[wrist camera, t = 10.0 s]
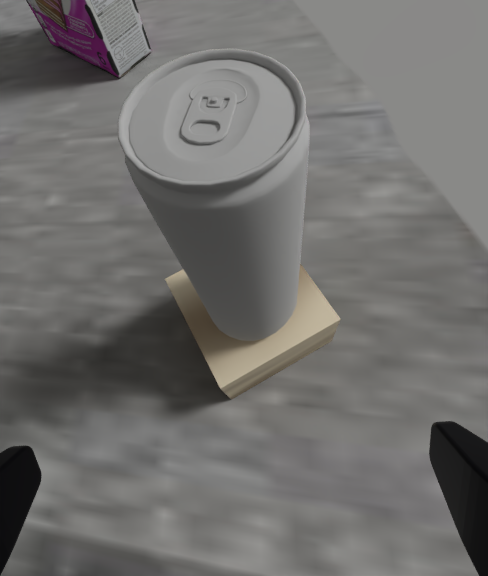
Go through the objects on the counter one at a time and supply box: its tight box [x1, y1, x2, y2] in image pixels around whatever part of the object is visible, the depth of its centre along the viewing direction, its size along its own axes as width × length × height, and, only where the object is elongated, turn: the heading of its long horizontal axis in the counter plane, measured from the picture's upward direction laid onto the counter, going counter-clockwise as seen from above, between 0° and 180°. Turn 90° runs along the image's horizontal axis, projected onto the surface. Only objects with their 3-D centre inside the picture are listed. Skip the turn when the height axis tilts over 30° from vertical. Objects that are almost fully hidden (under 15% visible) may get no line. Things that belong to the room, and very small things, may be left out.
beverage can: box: [118, 48, 310, 341], centre depth 14 cm, size 5×5×12 cm
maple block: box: [165, 264, 341, 399], centre depth 21 cm, size 7×7×4 cm
